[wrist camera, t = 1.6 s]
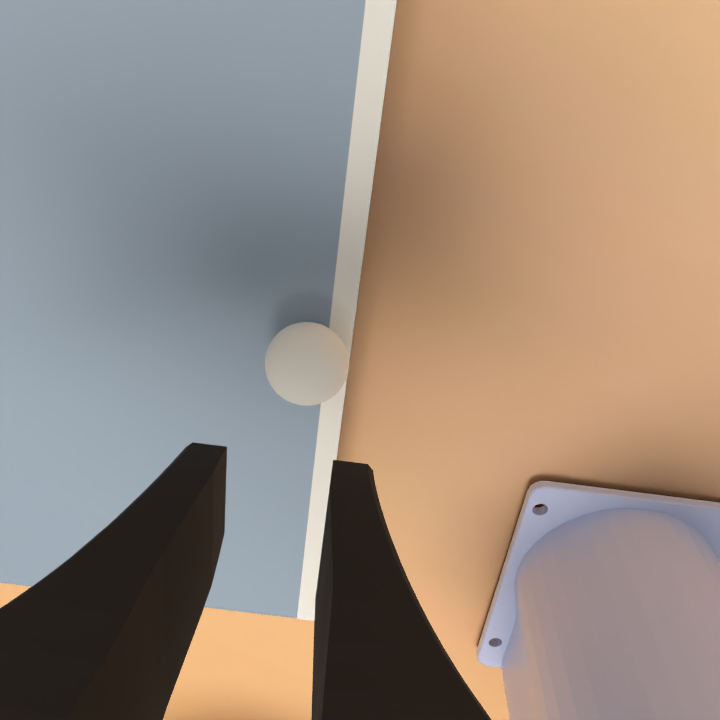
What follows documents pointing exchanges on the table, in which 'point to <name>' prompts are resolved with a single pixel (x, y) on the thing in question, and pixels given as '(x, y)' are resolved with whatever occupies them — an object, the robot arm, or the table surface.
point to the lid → (182, 267)
